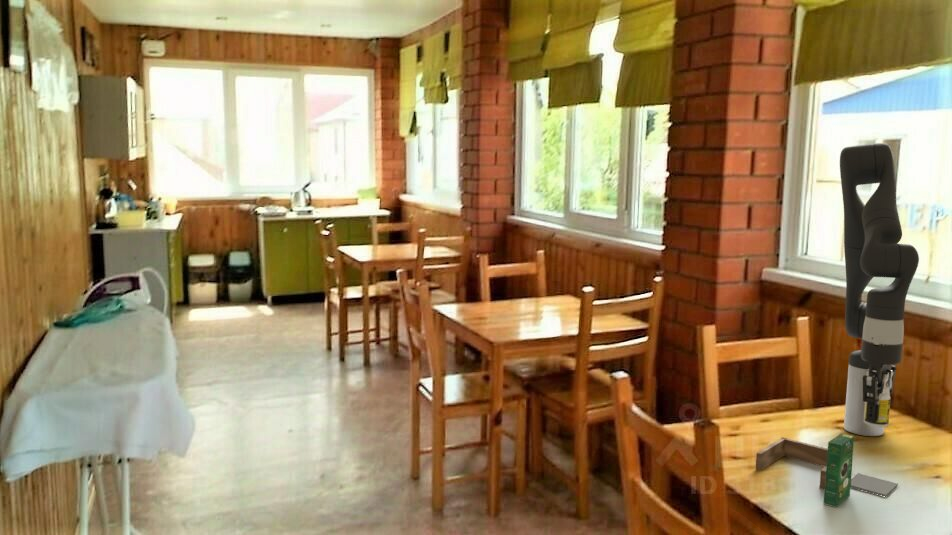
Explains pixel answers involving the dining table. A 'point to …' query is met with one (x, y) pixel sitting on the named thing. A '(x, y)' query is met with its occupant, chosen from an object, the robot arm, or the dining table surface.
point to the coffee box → (838, 469)
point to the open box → (793, 455)
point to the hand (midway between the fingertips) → (876, 417)
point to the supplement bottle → (880, 410)
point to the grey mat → (872, 484)
